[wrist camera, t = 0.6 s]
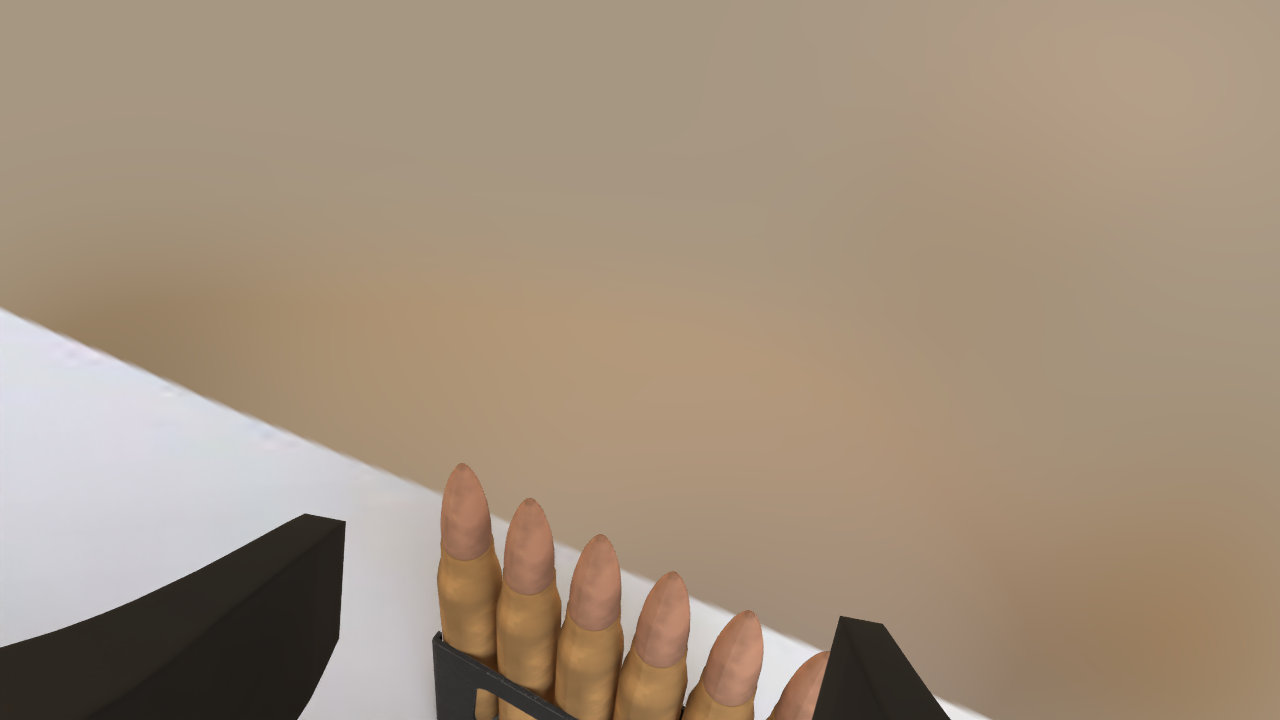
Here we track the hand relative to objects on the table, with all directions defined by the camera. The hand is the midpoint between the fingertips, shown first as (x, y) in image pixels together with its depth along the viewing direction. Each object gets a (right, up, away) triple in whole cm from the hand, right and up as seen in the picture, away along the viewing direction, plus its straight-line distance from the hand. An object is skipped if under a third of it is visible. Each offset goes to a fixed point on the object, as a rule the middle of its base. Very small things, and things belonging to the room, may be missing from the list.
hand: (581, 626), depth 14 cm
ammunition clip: (0, -9, +15) cm, 18 cm away
